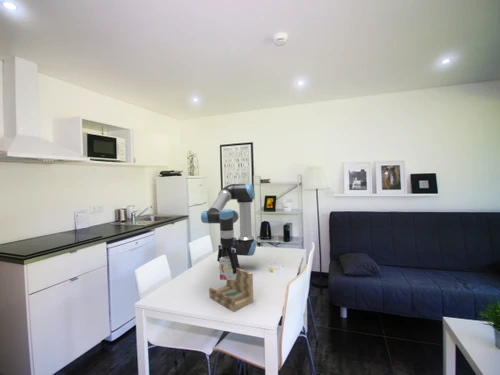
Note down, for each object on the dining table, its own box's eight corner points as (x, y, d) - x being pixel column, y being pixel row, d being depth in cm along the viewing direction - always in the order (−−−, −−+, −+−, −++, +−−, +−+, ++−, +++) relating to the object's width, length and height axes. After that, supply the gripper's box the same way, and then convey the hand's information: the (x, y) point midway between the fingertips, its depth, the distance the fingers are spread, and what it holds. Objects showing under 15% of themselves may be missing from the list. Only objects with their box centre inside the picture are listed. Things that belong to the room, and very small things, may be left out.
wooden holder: (209, 297, 144) (208, 270, 144) (228, 289, 154) (227, 264, 153) (233, 311, 128) (232, 281, 128) (253, 301, 138) (252, 273, 137)
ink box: (219, 279, 138) (218, 258, 137) (222, 276, 143) (221, 256, 142) (234, 280, 136) (233, 259, 136) (236, 277, 141) (236, 256, 141)
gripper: (210, 235, 144) (211, 273, 145) (234, 241, 128) (235, 284, 129) (220, 233, 149) (221, 269, 150) (245, 239, 133) (246, 280, 134)
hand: (228, 276), depth 140 cm, fingers closed on ink box, 9 cm apart
